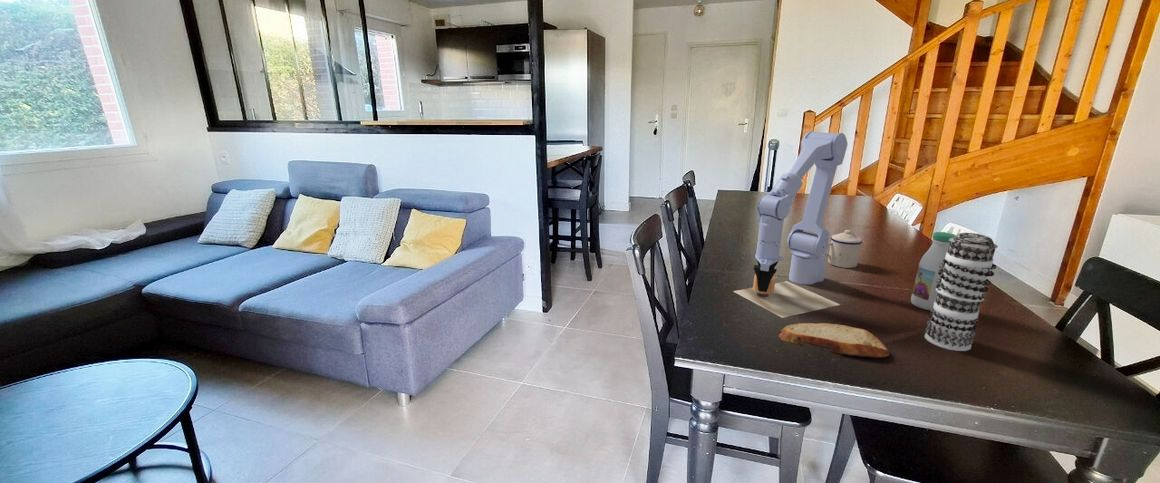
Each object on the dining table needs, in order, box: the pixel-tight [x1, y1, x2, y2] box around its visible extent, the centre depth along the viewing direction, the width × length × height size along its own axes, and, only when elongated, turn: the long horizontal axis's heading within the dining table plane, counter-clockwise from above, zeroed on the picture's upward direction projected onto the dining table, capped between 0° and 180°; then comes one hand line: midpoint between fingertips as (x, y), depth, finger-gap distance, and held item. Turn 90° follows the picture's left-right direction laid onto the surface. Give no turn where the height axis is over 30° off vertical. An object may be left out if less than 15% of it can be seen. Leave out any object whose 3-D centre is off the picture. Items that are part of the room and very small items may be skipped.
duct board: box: [732, 280, 841, 319], centre depth 124 cm, size 20×18×4 cm
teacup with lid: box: [823, 229, 863, 269], centre depth 152 cm, size 12×9×12 cm
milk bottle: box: [910, 231, 956, 311], centre depth 119 cm, size 8×8×20 cm
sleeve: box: [752, 273, 777, 294], centre depth 126 cm, size 5×5×4 cm
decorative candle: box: [923, 232, 999, 352], centre depth 100 cm, size 9×9×25 cm
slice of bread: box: [778, 322, 891, 359], centre depth 103 cm, size 18×18×4 cm
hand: (763, 287), depth 126 cm, fingers closed on sleeve, 5 cm apart
